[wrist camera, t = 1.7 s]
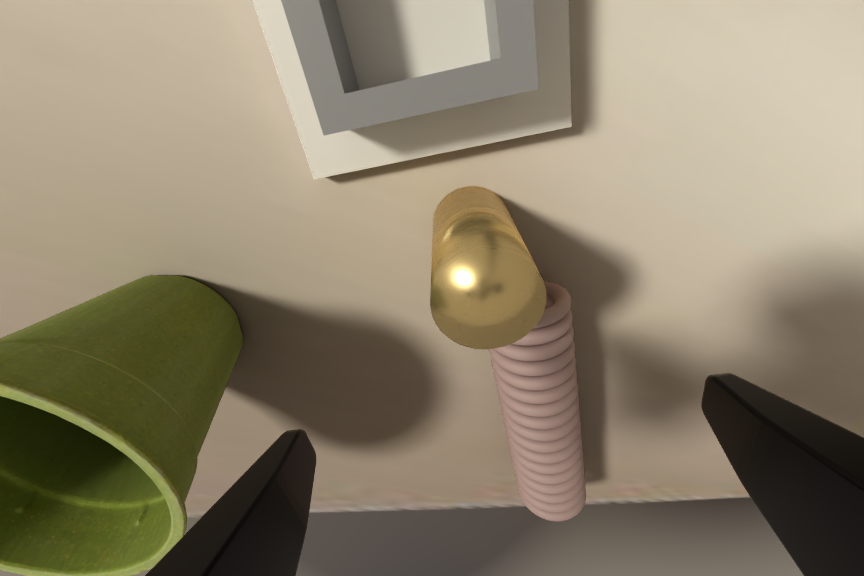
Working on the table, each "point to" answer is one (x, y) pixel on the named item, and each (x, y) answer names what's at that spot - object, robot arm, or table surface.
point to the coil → (544, 411)
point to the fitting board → (417, 75)
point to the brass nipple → (482, 272)
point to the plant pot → (109, 426)
